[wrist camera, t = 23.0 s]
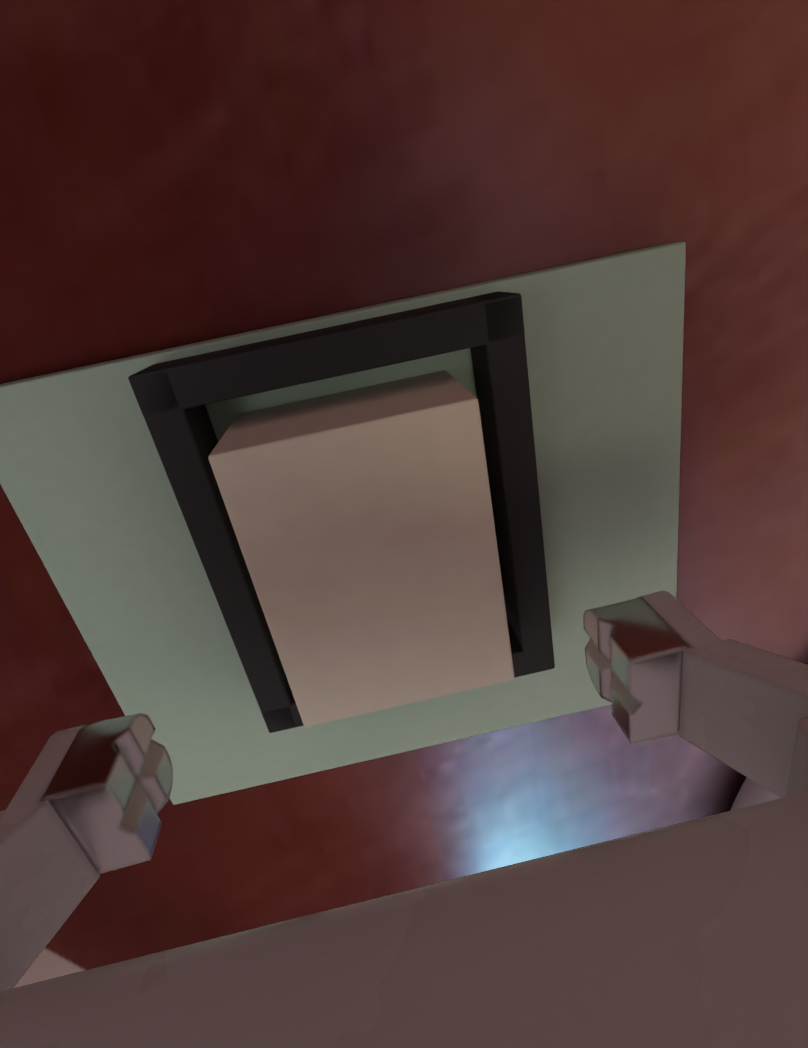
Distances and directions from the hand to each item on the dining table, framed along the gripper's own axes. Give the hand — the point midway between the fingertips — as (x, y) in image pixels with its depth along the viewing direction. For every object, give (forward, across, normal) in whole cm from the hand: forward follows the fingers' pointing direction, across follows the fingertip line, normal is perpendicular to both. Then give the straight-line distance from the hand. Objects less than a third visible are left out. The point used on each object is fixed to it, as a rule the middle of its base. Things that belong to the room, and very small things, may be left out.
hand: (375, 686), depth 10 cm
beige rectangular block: (+8, 0, 0) cm, 8 cm away
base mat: (+9, 0, +2) cm, 9 cm away
